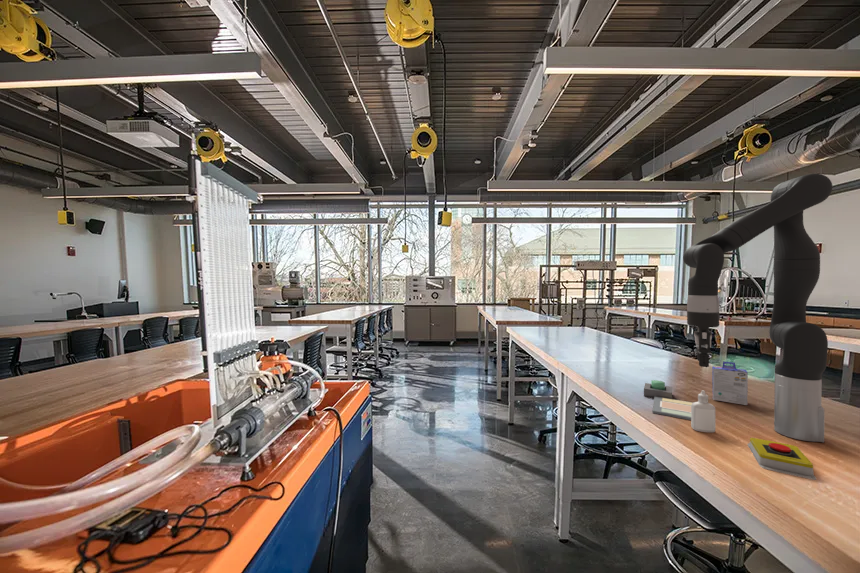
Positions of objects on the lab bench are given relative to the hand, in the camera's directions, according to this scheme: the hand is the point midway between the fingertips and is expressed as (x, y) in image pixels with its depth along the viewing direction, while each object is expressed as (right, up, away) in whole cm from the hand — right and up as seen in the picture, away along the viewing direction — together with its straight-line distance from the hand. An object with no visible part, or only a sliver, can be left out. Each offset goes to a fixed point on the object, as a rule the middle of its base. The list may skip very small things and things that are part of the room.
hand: (702, 363), depth 100 cm
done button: (+8, -17, +31) cm, 37 cm away
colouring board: (+4, -20, +16) cm, 26 cm away
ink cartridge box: (+30, -20, +25) cm, 44 cm away
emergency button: (+5, -21, -17) cm, 27 cm away
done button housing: (+8, -20, +31) cm, 38 cm away
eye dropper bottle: (0, -20, 0) cm, 20 cm away
